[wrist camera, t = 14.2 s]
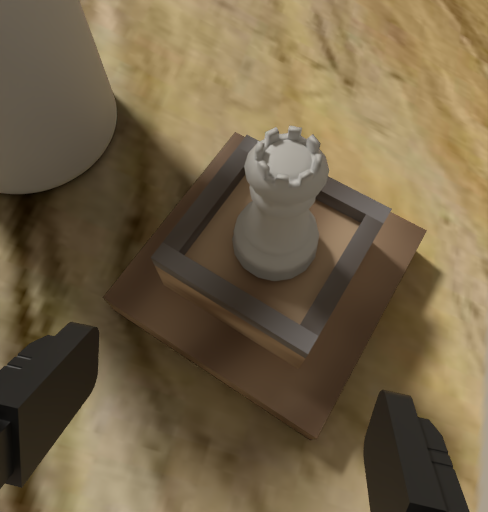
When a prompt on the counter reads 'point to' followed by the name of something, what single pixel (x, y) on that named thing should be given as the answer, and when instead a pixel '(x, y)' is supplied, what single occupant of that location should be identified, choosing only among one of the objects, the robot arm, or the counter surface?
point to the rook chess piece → (280, 205)
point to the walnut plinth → (247, 358)
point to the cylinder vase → (50, 95)
